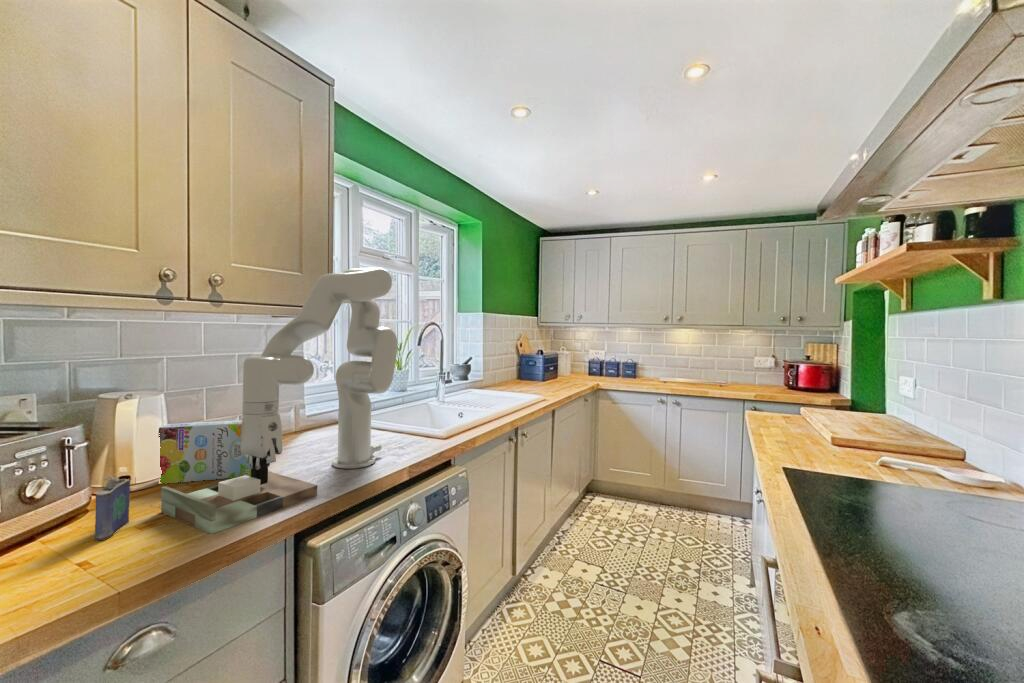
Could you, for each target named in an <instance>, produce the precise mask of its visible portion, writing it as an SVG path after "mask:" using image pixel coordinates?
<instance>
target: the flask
mask: <svg viewBox="0 0 1024 683" xmlns="http://www.w3.org/2000/svg"><path fill="white" fill-rule="evenodd" d="M106 481H107V483H106V484H105V486H104V487H103V488H101V489H100V490H99V491H97V492H96V494H95V523H94V541H95V542H99V541H107V539H109V538H112V537H113V536H114V535H115V534H116V533H117V532H116V531H117V530H119V531H120V529H122V528H123V527H124V526H126V525H127V524H128V523H130V520H129V519H130V497H131V496H130V495H131V480H130V479H129V478H128V479H127V478H121V479H120V478H118V477H114V476H108V477H106V478H104V482H106ZM121 527H122V528H121ZM115 532H116V533H115ZM114 533H115V534H114ZM111 536H112V537H111Z"/></svg>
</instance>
